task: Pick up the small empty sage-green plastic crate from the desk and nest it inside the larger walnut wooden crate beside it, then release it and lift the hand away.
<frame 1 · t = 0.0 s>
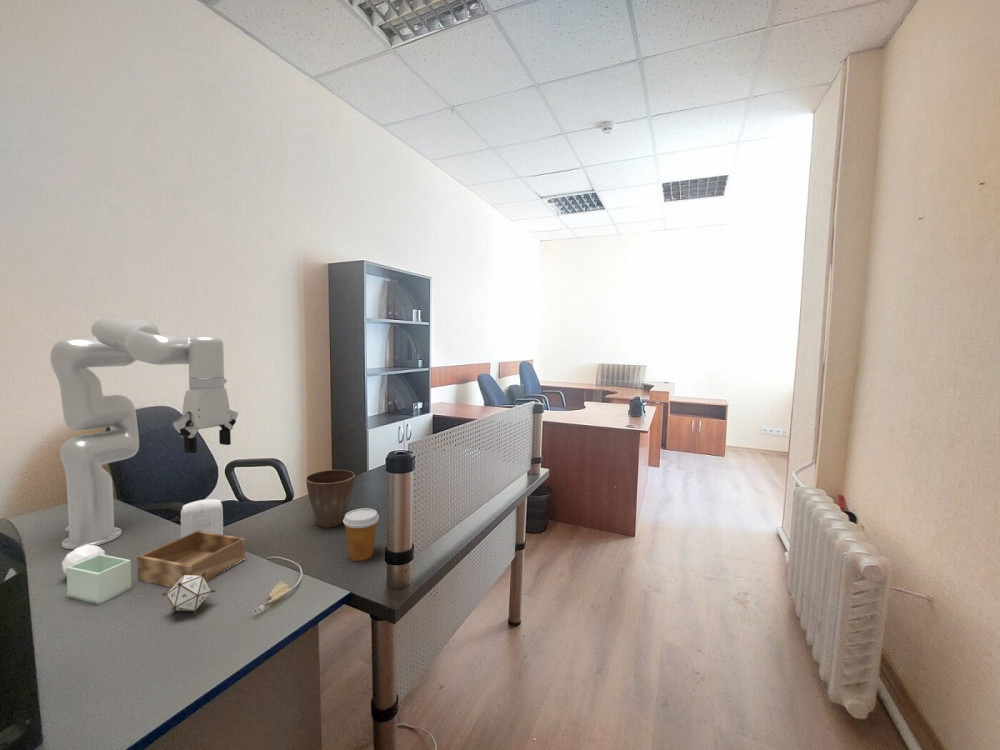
hand: (208, 448, 110), 31 cm above the table, tool pointing down, fingers open, 9 cm apart
geometric ball: (85, 576, 104), on the table
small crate: (100, 592, 97), on the table
photo printer: (202, 541, 124), on the table
big crate: (194, 569, 108), on the table
game die: (189, 610, 92), on the table
plant pot: (331, 523, 138), on the table
disposable coffee cup: (361, 556, 117), on the table
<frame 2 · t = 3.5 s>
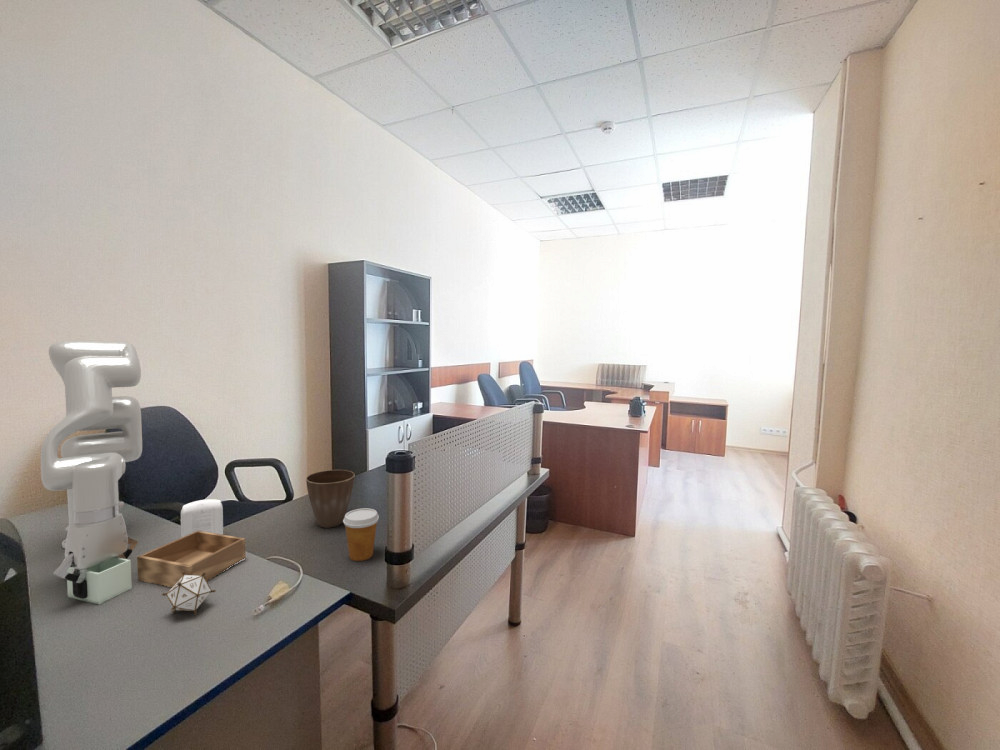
hand: (100, 587, 97), 1 cm above the table, tool pointing down, fingers closed on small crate, 6 cm apart
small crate: (100, 592, 97), on the table, touching gripper
everything else where it was.
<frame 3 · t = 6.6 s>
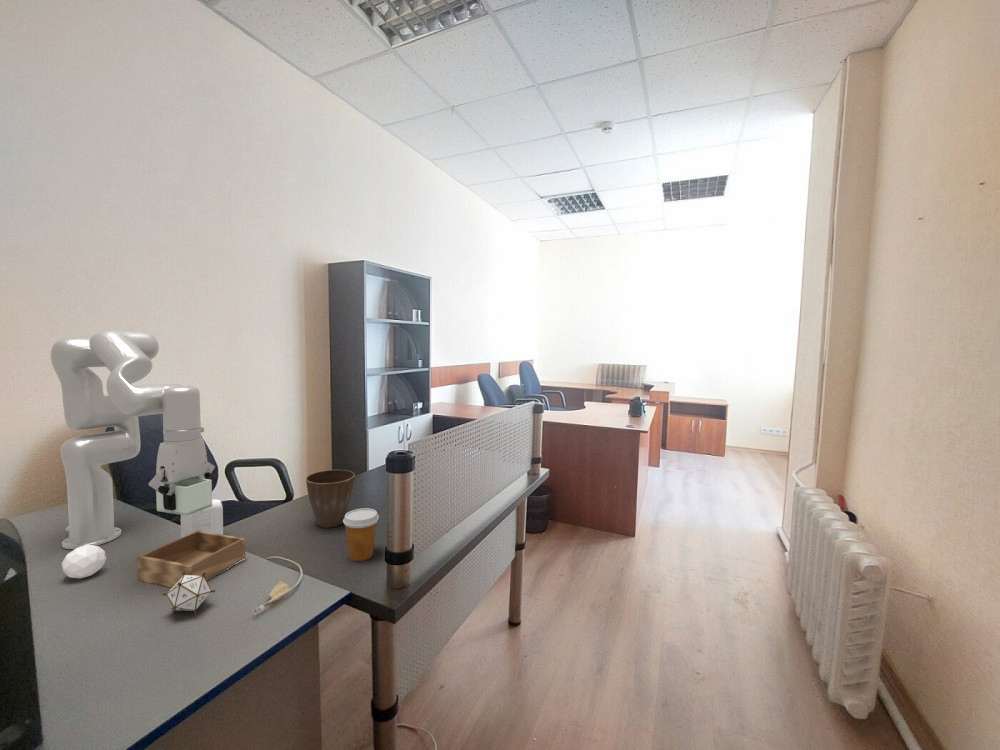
hand: (184, 503, 106), 18 cm above the table, tool pointing down, fingers closed on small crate, 6 cm apart
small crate: (185, 508, 106), point 17 cm above the table, touching gripper
everything else where it was.
when the fingers open (4 cm above the table, at t = 9.9 s): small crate drops 2 cm, resting on big crate.
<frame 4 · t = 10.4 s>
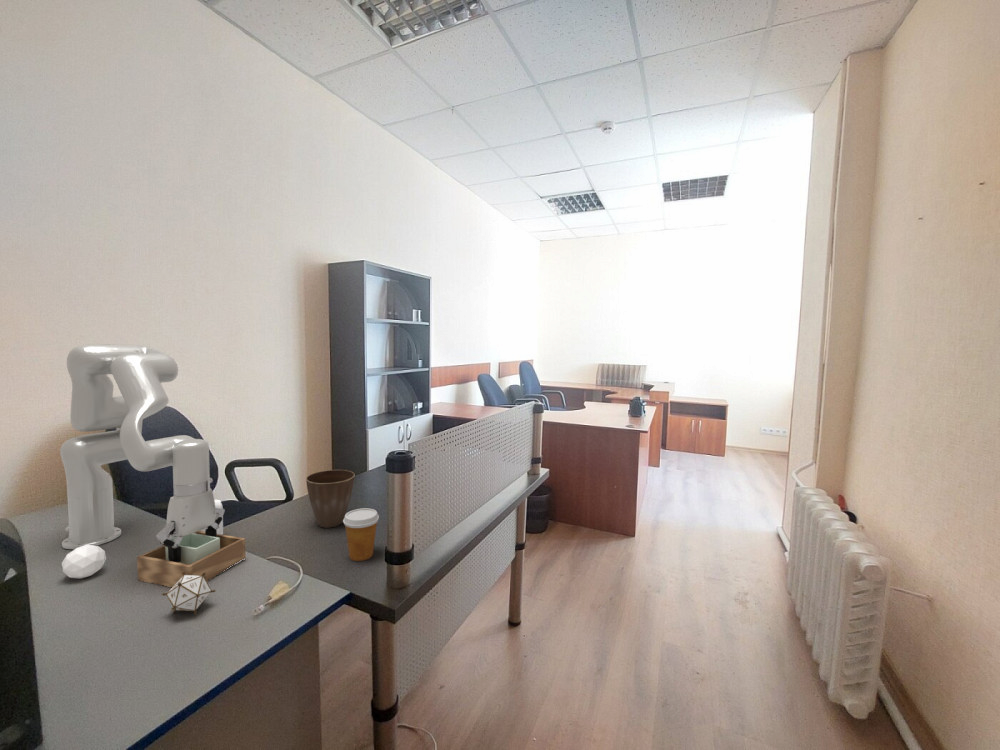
hand: (193, 552, 108), 5 cm above the table, tool pointing down, fingers open, 9 cm apart
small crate: (193, 566, 108), point 1 cm above the table, touching big crate
everything else where it was.
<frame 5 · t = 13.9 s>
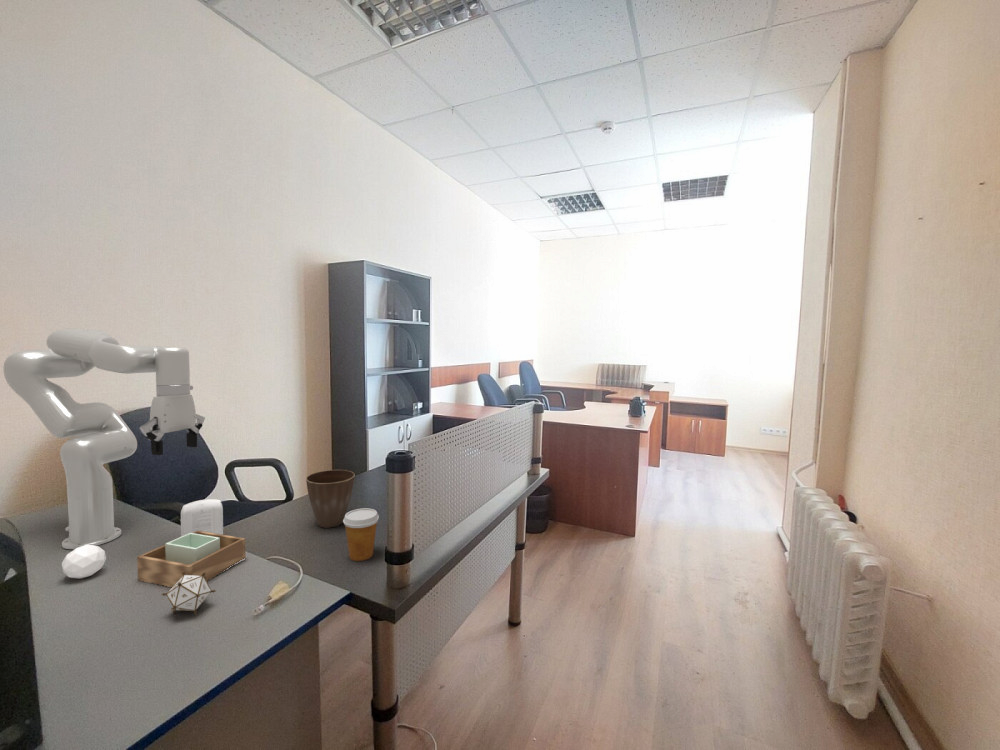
hand: (175, 450, 118), 28 cm above the table, tool pointing down, fingers open, 9 cm apart
nothing on the table moved.
at the end: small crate inside the target area on the big crate (0.1 cm from its centre), point 0.8 cm above the big crate's base; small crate tilted 0°; the gripper is holding nothing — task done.
